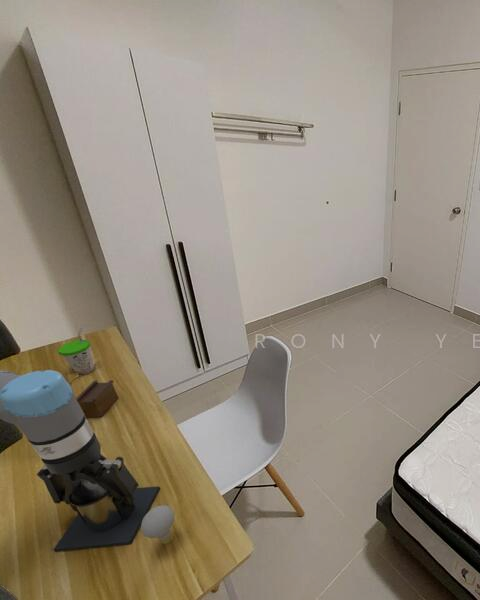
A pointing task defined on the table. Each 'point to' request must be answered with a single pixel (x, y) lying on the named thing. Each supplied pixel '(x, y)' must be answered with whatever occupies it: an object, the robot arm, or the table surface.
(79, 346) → the cup
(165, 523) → the light bulb
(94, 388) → the dark brown wooden block
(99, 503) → the pot
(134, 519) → the mat
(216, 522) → the table surface
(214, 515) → the table surface
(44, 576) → the table surface
